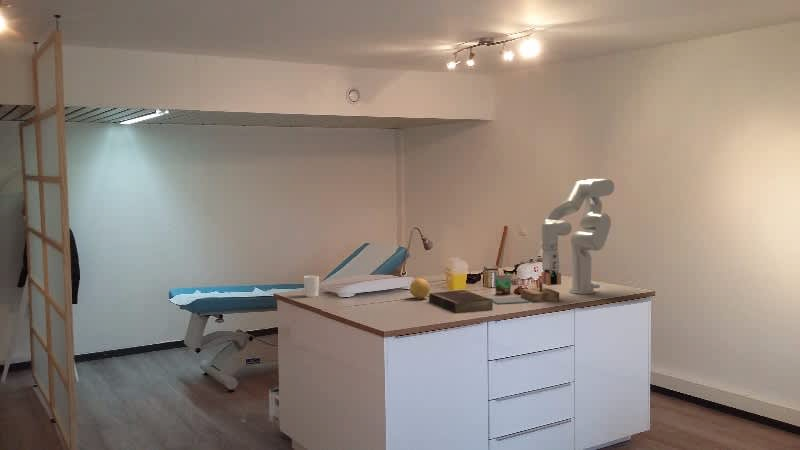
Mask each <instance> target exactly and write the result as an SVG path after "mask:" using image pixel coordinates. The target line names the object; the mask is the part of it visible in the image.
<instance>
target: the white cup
mask: <svg viewBox="0 0 800 450" xmlns="http://www.w3.org/2000/svg"><path fill="white" fill-rule="evenodd" d="M319 289H320V276H319V275H313V274H311V275H304V276H303V291H304V297H305V296H306V298H317V297H319ZM316 296H317V297H316Z"/></svg>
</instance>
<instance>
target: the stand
mask: <svg viewBox="0 0 800 450" xmlns="http://www.w3.org/2000/svg"><path fill="white" fill-rule="evenodd" d="M520 298H522V299H525V300H527V301H529V302H531V303H541V302H542V301H546V302H559V301H560V292H558V291H556V290H555V289H554V290H553V289H550V288H548V287H543V283H542V281H539V288H538V287H537V288H521V289H520ZM542 303H543V302H542Z"/></svg>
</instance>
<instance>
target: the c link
mask: <svg viewBox="0 0 800 450" xmlns="http://www.w3.org/2000/svg"><path fill="white" fill-rule="evenodd" d="M540 278H541V282H542V285H545V286H559V285H562V273H561V272H558V276H557V284H551V272H550V271H549V272H543V271H541V277H540Z"/></svg>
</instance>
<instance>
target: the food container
mask: <svg viewBox="0 0 800 450" xmlns="http://www.w3.org/2000/svg"><path fill="white" fill-rule="evenodd" d="M512 279H513V275H512V273H510V272H505V274H500V275H498V274H495V275H494V284H495V295H500V296H501V295H510V294H511V289H512V288H511V287H512V286H511V285H512Z"/></svg>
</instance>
